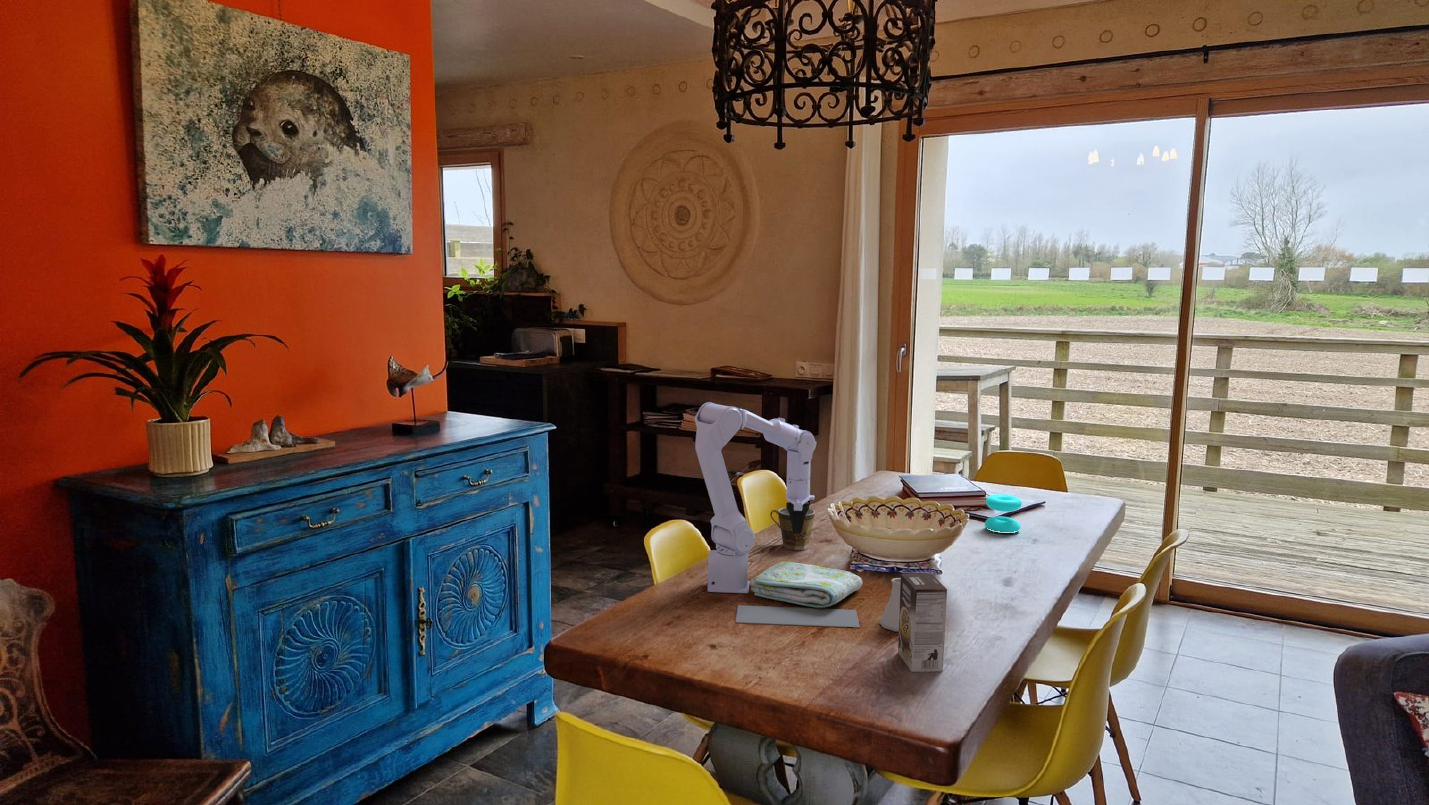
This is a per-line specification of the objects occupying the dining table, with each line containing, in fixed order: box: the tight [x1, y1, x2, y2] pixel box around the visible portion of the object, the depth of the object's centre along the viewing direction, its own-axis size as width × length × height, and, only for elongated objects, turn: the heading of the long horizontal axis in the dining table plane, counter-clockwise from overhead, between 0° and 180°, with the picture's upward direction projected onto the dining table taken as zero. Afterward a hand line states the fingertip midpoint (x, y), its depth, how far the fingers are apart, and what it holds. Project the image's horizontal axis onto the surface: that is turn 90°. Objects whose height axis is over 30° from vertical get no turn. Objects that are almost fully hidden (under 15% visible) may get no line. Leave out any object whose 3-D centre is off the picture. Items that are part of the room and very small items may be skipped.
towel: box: [749, 560, 863, 609], centre depth 209 cm, size 18×21×5 cm
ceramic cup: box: [769, 506, 816, 551], centre depth 246 cm, size 13×10×10 cm
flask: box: [878, 577, 901, 633], centre depth 189 cm, size 7×7×10 cm
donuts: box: [984, 494, 1023, 532], centre depth 264 cm, size 10×10×10 cm
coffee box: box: [897, 572, 948, 673], centre depth 171 cm, size 9×6×16 cm
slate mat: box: [735, 604, 860, 629], centre depth 194 cm, size 26×10×1 cm, turn 86°
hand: (797, 532), depth 222 cm, fingers closed
